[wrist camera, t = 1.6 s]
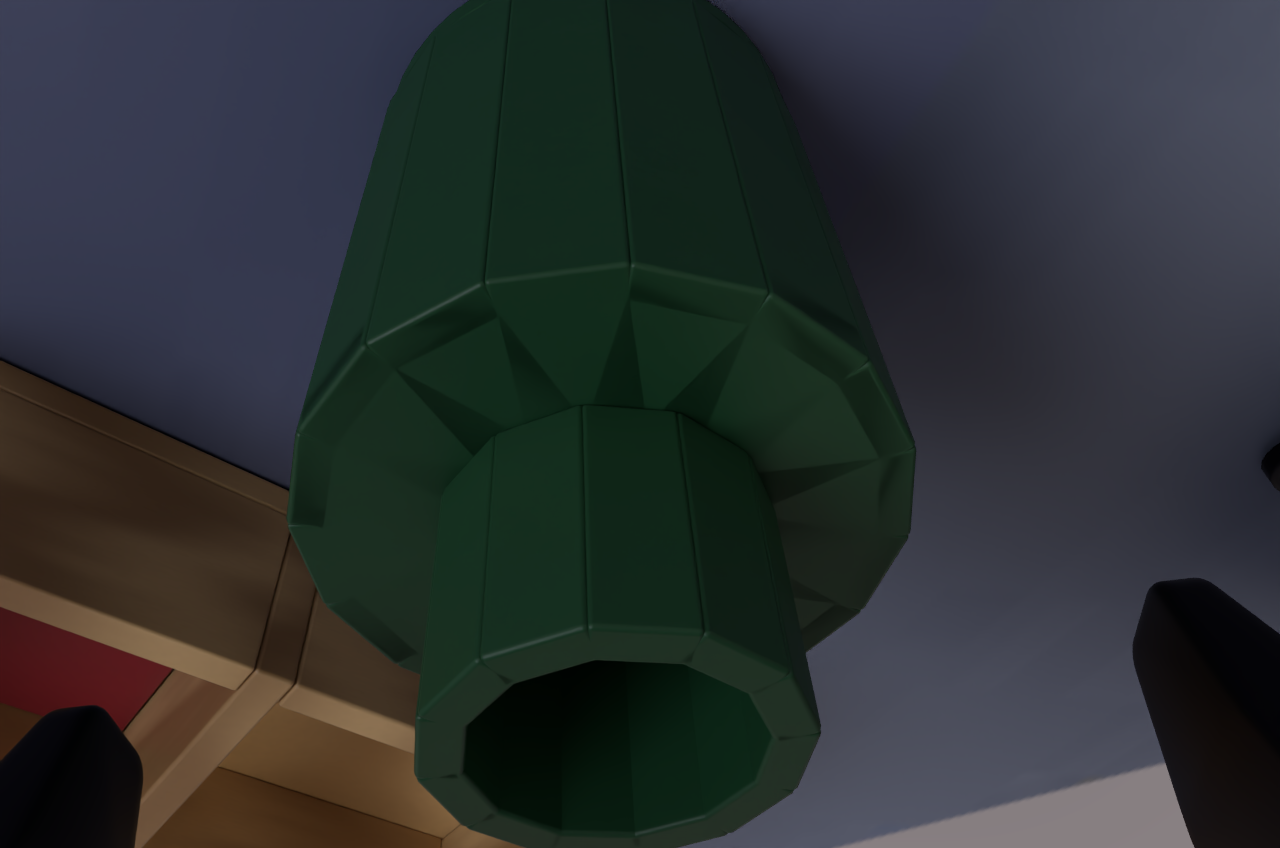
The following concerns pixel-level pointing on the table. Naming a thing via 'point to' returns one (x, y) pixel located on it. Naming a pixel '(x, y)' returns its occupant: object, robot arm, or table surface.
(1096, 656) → the table surface
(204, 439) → the table surface
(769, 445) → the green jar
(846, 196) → the table surface
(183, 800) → the wooden divided tray
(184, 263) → the table surface
